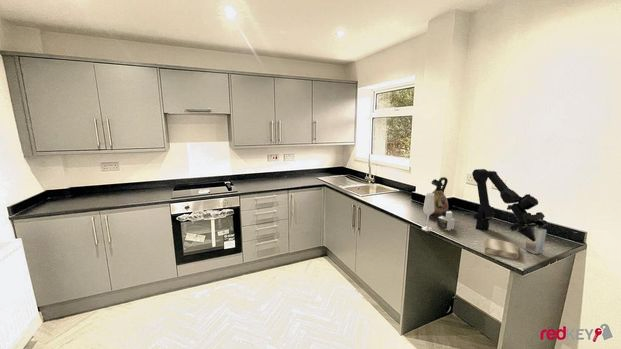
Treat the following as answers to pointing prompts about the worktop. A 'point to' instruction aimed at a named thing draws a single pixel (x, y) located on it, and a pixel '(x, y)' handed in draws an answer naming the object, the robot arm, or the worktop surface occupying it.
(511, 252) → the shallow cream tray
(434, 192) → the ceramic jug
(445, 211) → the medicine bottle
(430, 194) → the champagne flute
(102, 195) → the worktop surface
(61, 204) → the worktop surface
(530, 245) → the block
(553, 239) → the worktop surface
